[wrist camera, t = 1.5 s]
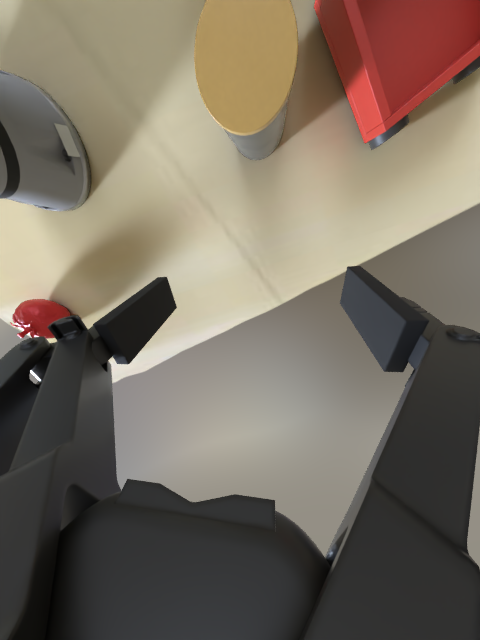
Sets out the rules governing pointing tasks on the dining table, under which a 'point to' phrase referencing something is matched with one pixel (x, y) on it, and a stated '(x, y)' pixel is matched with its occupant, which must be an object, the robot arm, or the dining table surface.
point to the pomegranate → (38, 317)
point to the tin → (247, 69)
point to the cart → (398, 54)
